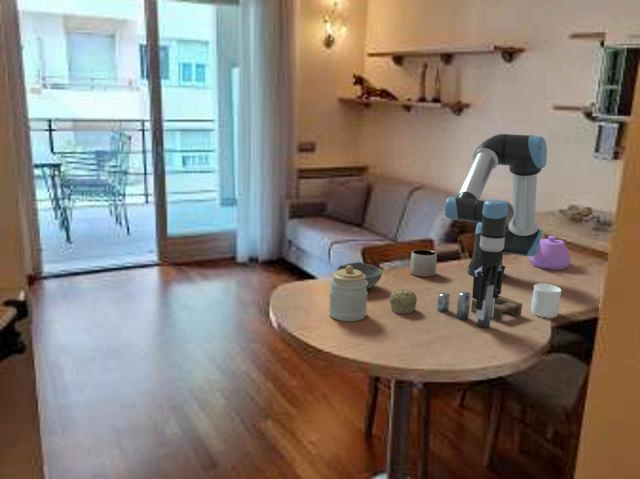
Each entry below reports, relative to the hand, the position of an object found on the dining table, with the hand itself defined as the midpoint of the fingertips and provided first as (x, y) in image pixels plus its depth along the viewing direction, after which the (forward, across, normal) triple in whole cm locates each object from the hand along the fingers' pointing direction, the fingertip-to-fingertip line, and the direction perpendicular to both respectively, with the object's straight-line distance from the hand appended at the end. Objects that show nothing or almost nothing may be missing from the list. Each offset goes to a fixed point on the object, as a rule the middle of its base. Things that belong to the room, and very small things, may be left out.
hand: (484, 317), depth 195 cm
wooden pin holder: (+4, -14, -6) cm, 15 cm away
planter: (+4, -26, -54) cm, 60 cm away
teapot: (+5, -86, -34) cm, 92 cm away
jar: (+3, +32, -32) cm, 45 cm away
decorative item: (+4, +12, -26) cm, 29 cm away
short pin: (+4, 0, -18) cm, 18 cm away
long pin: (+3, 0, 0) cm, 3 cm away
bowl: (+4, +10, -53) cm, 54 cm away
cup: (+4, -29, +3) cm, 29 cm away
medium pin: (+3, 0, -9) cm, 9 cm away
